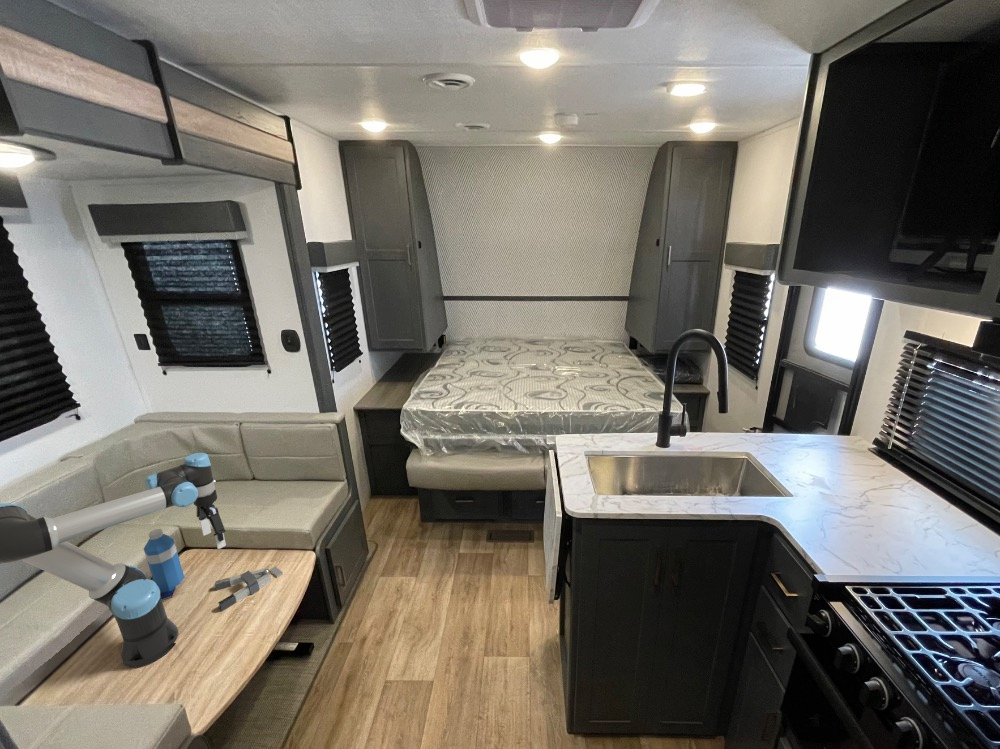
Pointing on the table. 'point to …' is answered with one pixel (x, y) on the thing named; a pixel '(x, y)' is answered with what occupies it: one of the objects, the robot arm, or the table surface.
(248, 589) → the tongs fixed
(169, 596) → the smartphone
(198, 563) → the table surface
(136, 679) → the table surface
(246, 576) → the collar
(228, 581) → the arm
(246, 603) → the table surface
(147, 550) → the water bottle
